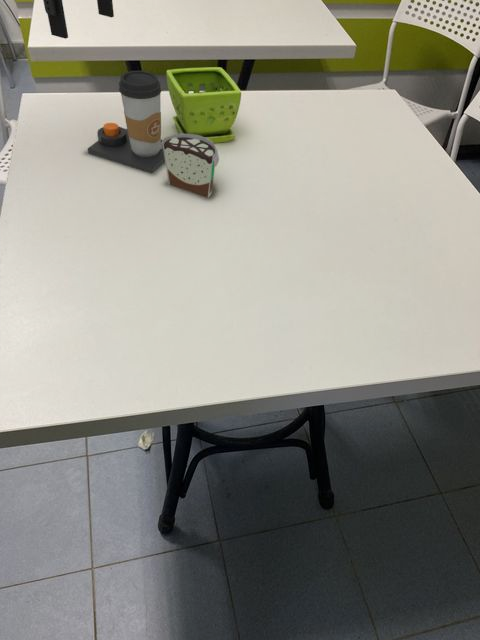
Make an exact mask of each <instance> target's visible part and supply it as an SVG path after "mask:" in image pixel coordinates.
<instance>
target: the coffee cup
mask: <svg viewBox="0 0 480 640" xmlns="http://www.w3.org/2000/svg"><path fill="white" fill-rule="evenodd" d="M119 79H120V80H119V82H118V86H119V87H118V91H119V93H120V96H121V101H122V108H123V114H124V120H125V123H126V124H125V126H126V129H127V130H128V135H129V139H130V144H131V149H132V150H133V152H134V153H135V154H136V155H138V156H142V157H150V156H154V155H156V154H158V153H159V151H160V149H161V140H162V138H161V137H162V111H161V105H162V104H161V93H162V88H161V83H160V81H159V78H158V76H157V75H156V74H154V73H153V72H150V71H146V70H130V71H126V72H124V73H122V74H121V75H120V77H119Z"/></svg>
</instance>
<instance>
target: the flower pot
mask: <svg viewBox="0 0 480 640" xmlns="http://www.w3.org/2000/svg"><path fill="white" fill-rule="evenodd" d="M166 82H167V88H168V93H169V98H170V101H171V104H172V106H173V109H174V111H175V114H176V115H174V116H172V120H173V121H174V124H175V125H176V127H177V130H178V131H179V134H194V135H199V136H202V137H205V138H207V139H209V140H210V141H212V142H213V143H214V144H219V143H229V142H230V141H232V140H233V139H235V133H234V132H233V130H232V129H231V128H232V127H233V125H234V123H235V121H236V118H237V116H238V113H239V110H240V105H241V100H242V91H241V89H240V88H239V86H238V85H237V83H236V82H235V81H234V79H232V77H231V76H230V75H229V74H228V73H227V72H226V70H225V69H224V68H223V67H219V66H214V67H213V66H212V67H211V66H209V67H185V68H173V69H167V70H166ZM211 84H212V85H211ZM190 85H191V86H190ZM200 86H204V90H203V91H200ZM190 92H192V93H190Z"/></svg>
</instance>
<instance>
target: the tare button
mask: <svg viewBox="0 0 480 640" xmlns="http://www.w3.org/2000/svg"><path fill="white" fill-rule="evenodd" d="M118 126H119V125H118V124H117V123H115V122H107V123H105V124H103V126H102V127H104V134H105V135H106V136H117V135H119V127H120V126H119V127H118Z"/></svg>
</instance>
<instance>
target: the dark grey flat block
mask: <svg viewBox="0 0 480 640" xmlns="http://www.w3.org/2000/svg"><path fill="white" fill-rule="evenodd" d="M118 127H119V135H117V136H106V135H105V134H104V127H103V126H102V127H100V128H99V129H98V130H97V134H96V135H97V141H96V142H94V143H93V144H92V145H90V146H88V147H87V153H88V154H90V155H92V156H96V157H98V158H102V159H105V160H108V161H111V162H114V163H117V164H121V165H123V166H127V167H130V168H133V169H136V170H140V171H143V172H145V173H149V174H153V173H154V172H155V171H157V170H158V169H159V168H160V167H161V166H163V165H164V164H166V163H165V157H164V150H163V148H162V149H160V151H159V153H158V154H156V155H154V156H150V157H142V156H138V155H136V154H135V153H134V152H133V150H132V149H131V144H130V139H129V135H128V130H127V128H124V127H122V126H119V125H118ZM161 142H162V139H161Z"/></svg>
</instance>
